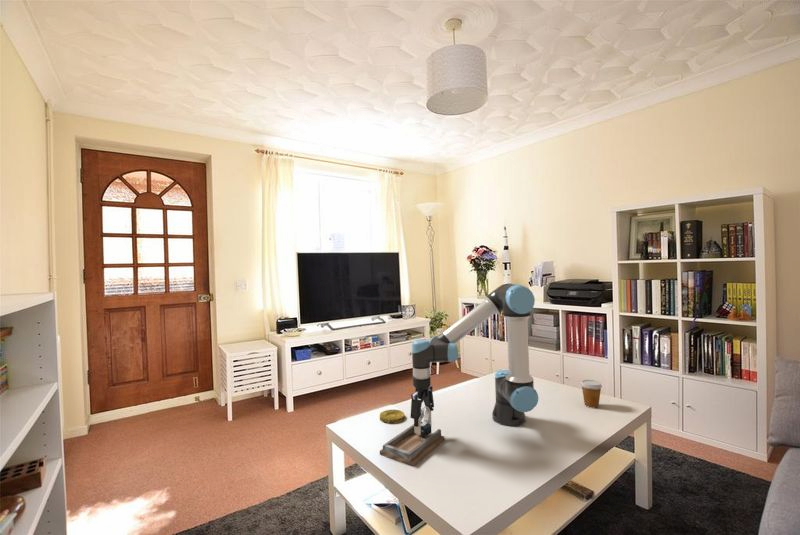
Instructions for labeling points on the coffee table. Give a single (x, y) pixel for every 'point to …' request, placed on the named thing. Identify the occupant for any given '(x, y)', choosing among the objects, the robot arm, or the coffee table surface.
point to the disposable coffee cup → (591, 392)
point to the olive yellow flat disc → (391, 416)
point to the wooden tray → (411, 446)
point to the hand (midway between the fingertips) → (423, 429)
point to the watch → (425, 421)
